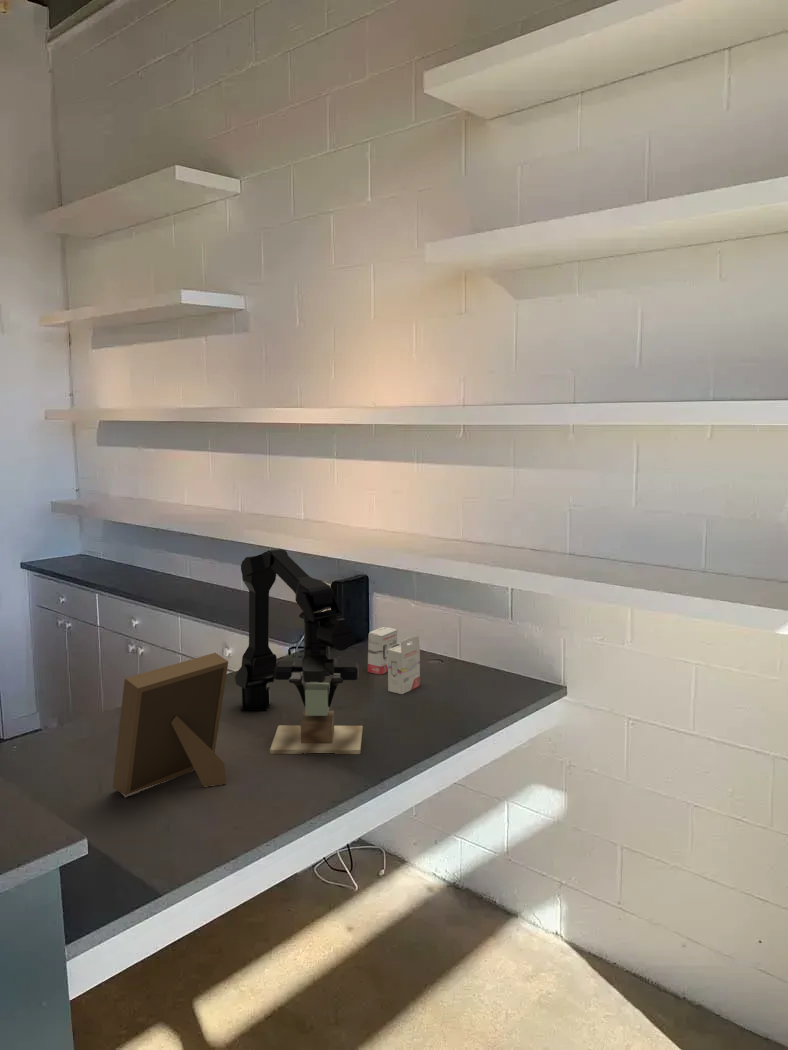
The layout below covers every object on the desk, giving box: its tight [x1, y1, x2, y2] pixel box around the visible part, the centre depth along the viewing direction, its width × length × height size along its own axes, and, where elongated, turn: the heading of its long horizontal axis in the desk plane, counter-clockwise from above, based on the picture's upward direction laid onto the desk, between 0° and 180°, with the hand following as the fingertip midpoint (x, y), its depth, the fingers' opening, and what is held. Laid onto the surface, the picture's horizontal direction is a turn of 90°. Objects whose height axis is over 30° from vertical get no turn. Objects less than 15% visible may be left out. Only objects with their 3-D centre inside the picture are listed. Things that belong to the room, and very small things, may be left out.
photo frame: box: [112, 652, 229, 795], centre depth 171 cm, size 15×22×25 cm
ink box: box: [367, 626, 398, 676], centre depth 246 cm, size 9×5×12 cm, turn 147°
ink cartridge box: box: [387, 634, 421, 695], centre depth 229 cm, size 9×5×15 cm, turn 143°
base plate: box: [269, 710, 364, 755], centre depth 195 cm, size 20×14×6 cm
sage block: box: [304, 682, 330, 716], centre depth 194 cm, size 5×5×6 cm
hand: (317, 706), depth 194 cm, fingers closed on sage block, 5 cm apart
